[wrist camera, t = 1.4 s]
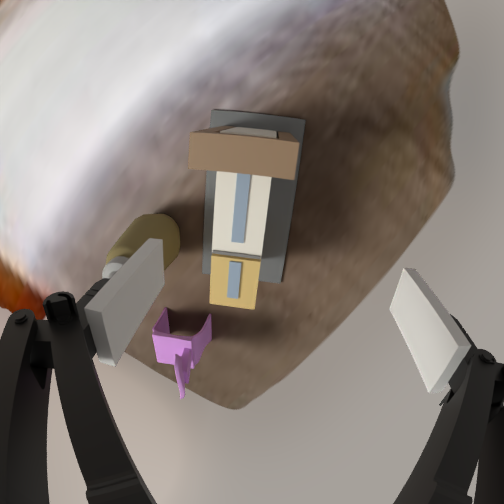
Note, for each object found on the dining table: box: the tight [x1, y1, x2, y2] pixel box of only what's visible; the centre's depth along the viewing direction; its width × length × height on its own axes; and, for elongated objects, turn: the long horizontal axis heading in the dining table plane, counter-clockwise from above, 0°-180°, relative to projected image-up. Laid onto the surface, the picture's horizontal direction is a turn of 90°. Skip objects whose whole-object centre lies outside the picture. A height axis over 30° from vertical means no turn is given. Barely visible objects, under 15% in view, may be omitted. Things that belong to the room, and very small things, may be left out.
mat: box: [202, 110, 306, 283], centre depth 40 cm, size 24×12×1 cm, turn 174°
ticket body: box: [188, 126, 299, 259], centre depth 31 cm, size 12×8×16 cm
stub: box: [210, 253, 261, 309], centre depth 36 cm, size 6×5×12 cm
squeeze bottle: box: [102, 214, 180, 279], centre depth 35 cm, size 8×8×18 cm
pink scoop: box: [152, 307, 212, 399], centre depth 44 cm, size 8×9×15 cm
